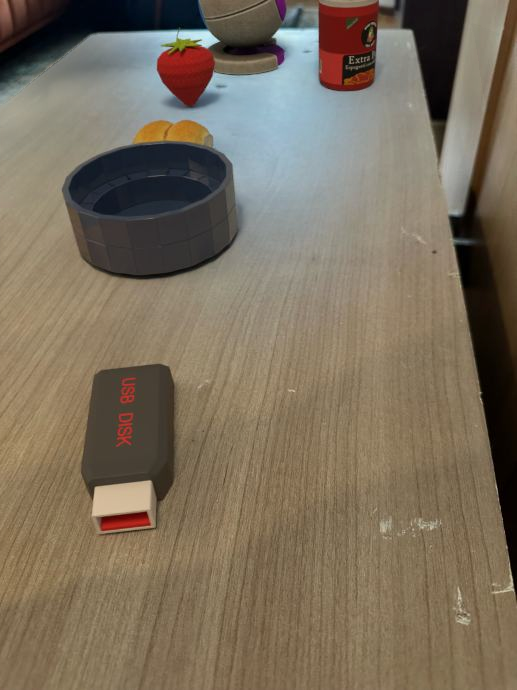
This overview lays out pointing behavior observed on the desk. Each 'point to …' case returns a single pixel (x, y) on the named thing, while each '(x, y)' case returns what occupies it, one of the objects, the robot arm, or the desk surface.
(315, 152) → the desk surface
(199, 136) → the bread roll
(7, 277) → the desk surface
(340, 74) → the canned food
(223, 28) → the webcam
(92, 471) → the usb drive
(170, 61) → the strawberry
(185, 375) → the desk surface
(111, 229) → the bowl
